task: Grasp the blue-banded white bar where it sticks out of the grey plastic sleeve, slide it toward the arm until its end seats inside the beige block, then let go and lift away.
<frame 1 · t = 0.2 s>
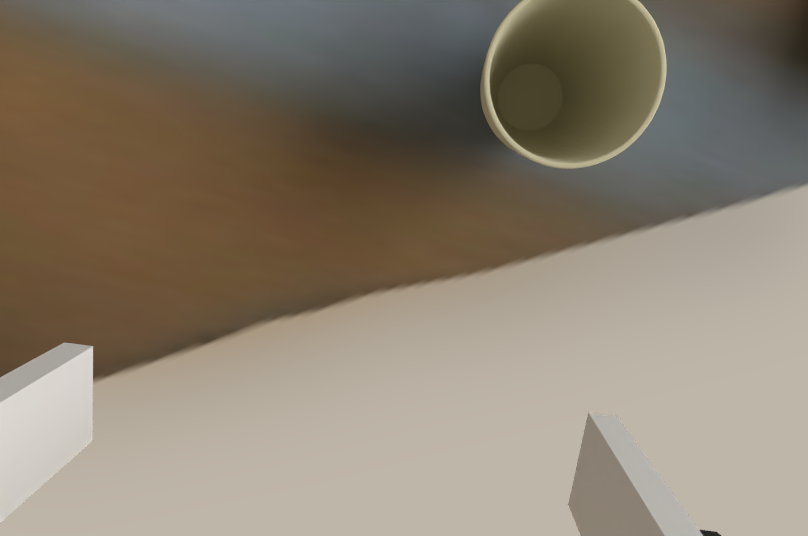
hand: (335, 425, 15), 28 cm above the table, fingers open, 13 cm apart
mug: (530, 82, 39), on the table
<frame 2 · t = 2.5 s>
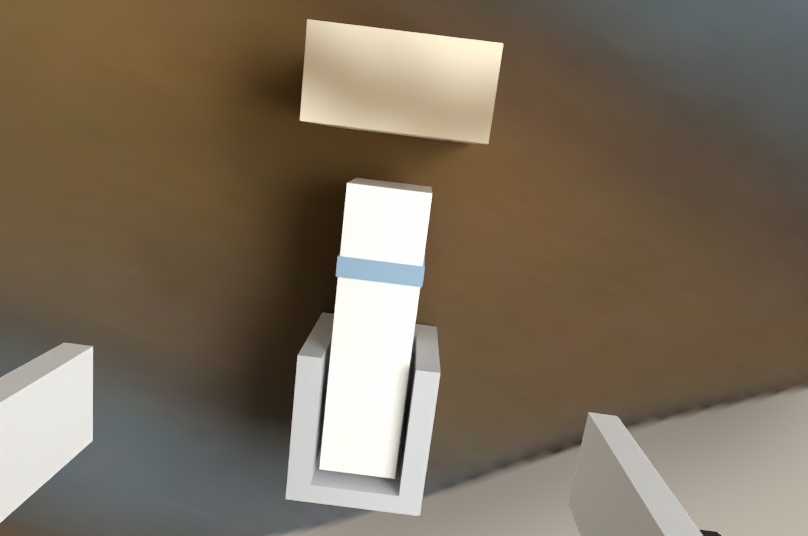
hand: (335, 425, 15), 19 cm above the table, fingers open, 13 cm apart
sleeve: (372, 380, 35), on the table
blue-banded white bar: (375, 326, 29), point 4 cm above the table, slide at 0.0 cm
beige block: (405, 98, 31), on the table
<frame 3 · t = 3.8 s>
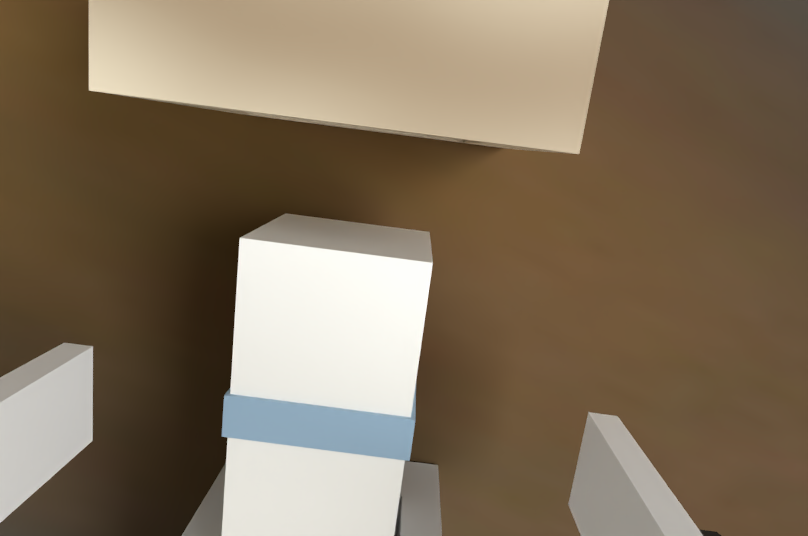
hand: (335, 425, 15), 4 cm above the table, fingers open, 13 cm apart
blue-banded white bar: (319, 506, 15), point 4 cm above the table, slide at 0.0 cm
beige block: (382, 62, 17), on the table
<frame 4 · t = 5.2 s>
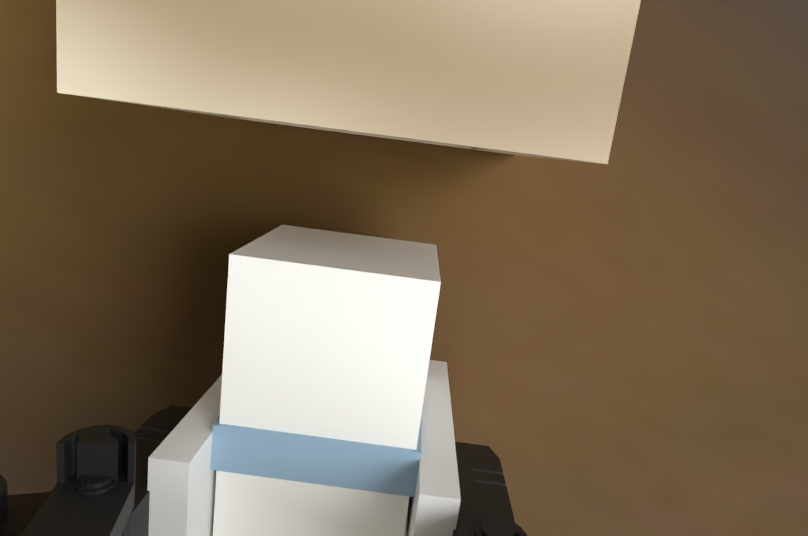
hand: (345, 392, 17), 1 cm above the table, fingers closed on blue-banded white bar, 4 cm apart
beige block: (385, 64, 16), on the table
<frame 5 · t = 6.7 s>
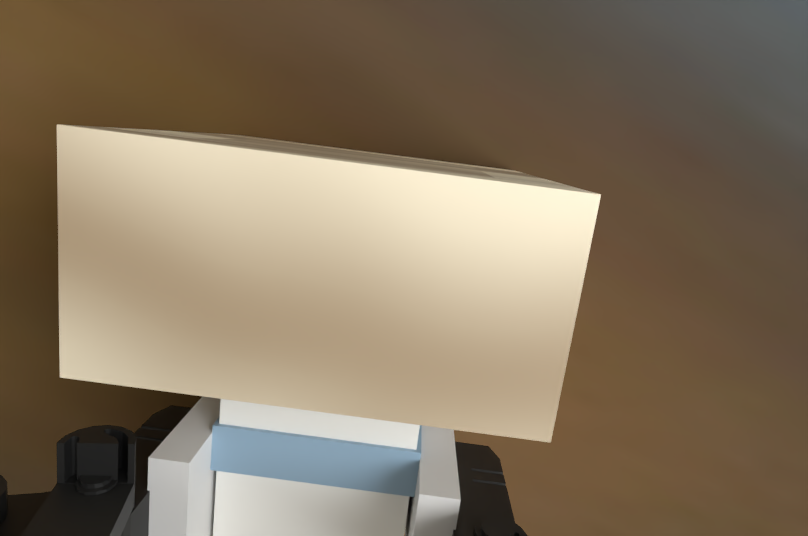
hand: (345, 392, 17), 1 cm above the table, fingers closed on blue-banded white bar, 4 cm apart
beige block: (368, 220, 17), on the table
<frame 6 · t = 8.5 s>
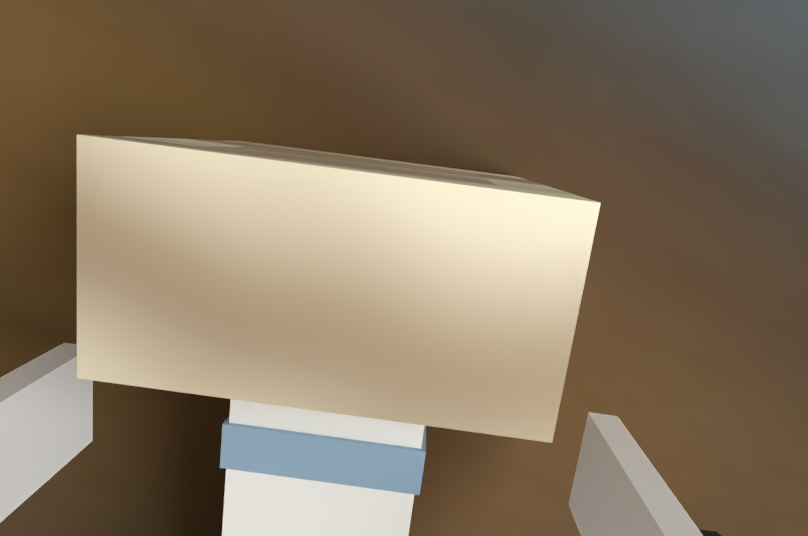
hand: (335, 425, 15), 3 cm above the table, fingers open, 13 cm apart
beige block: (373, 225, 17), on the table
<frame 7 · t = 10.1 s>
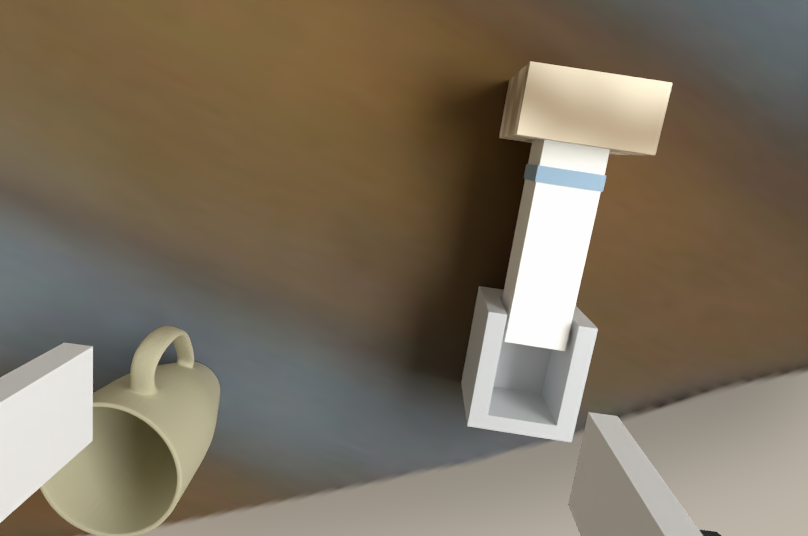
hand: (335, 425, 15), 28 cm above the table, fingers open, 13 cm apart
sleeve: (514, 342, 43), on the table
blue-banded white bar: (551, 230, 37), point 4 cm above the table, slide at 4.5 cm
beige block: (559, 117, 39), on the table
mug: (191, 375, 45), on the table
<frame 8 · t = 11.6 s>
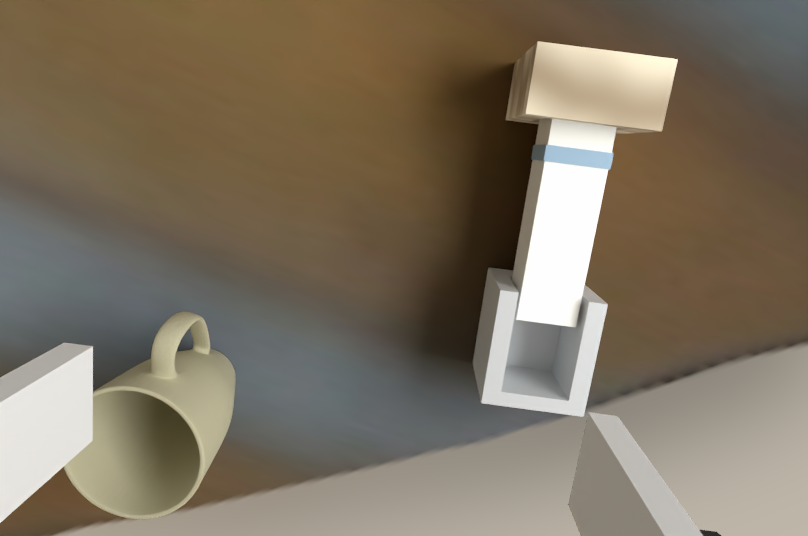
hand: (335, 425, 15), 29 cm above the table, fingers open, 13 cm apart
sleeve: (524, 322, 44), on the table
blue-banded white bar: (559, 208, 37), point 4 cm above the table, slide at 4.5 cm
beige block: (565, 98, 40), on the table
mug: (206, 362, 46), on the table
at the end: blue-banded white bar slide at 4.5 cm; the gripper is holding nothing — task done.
